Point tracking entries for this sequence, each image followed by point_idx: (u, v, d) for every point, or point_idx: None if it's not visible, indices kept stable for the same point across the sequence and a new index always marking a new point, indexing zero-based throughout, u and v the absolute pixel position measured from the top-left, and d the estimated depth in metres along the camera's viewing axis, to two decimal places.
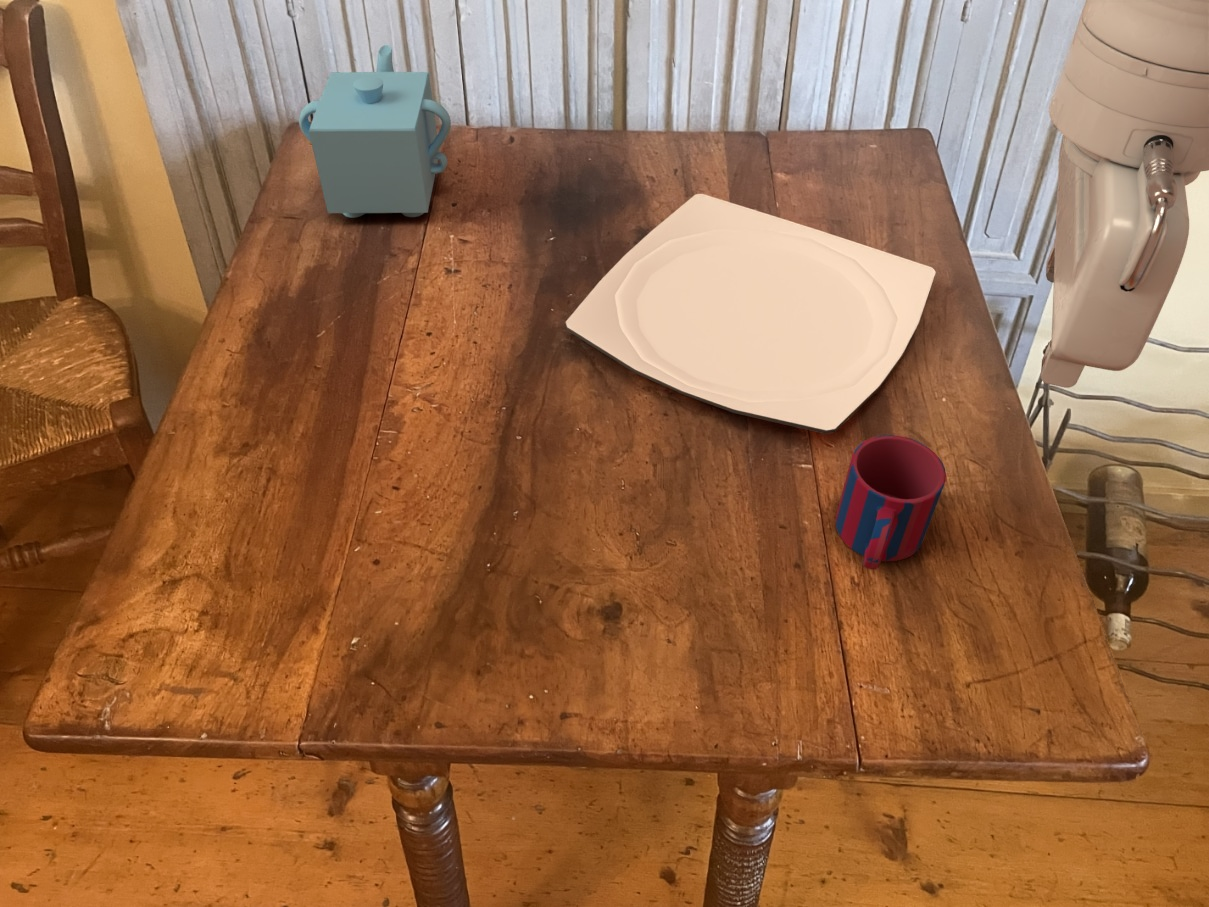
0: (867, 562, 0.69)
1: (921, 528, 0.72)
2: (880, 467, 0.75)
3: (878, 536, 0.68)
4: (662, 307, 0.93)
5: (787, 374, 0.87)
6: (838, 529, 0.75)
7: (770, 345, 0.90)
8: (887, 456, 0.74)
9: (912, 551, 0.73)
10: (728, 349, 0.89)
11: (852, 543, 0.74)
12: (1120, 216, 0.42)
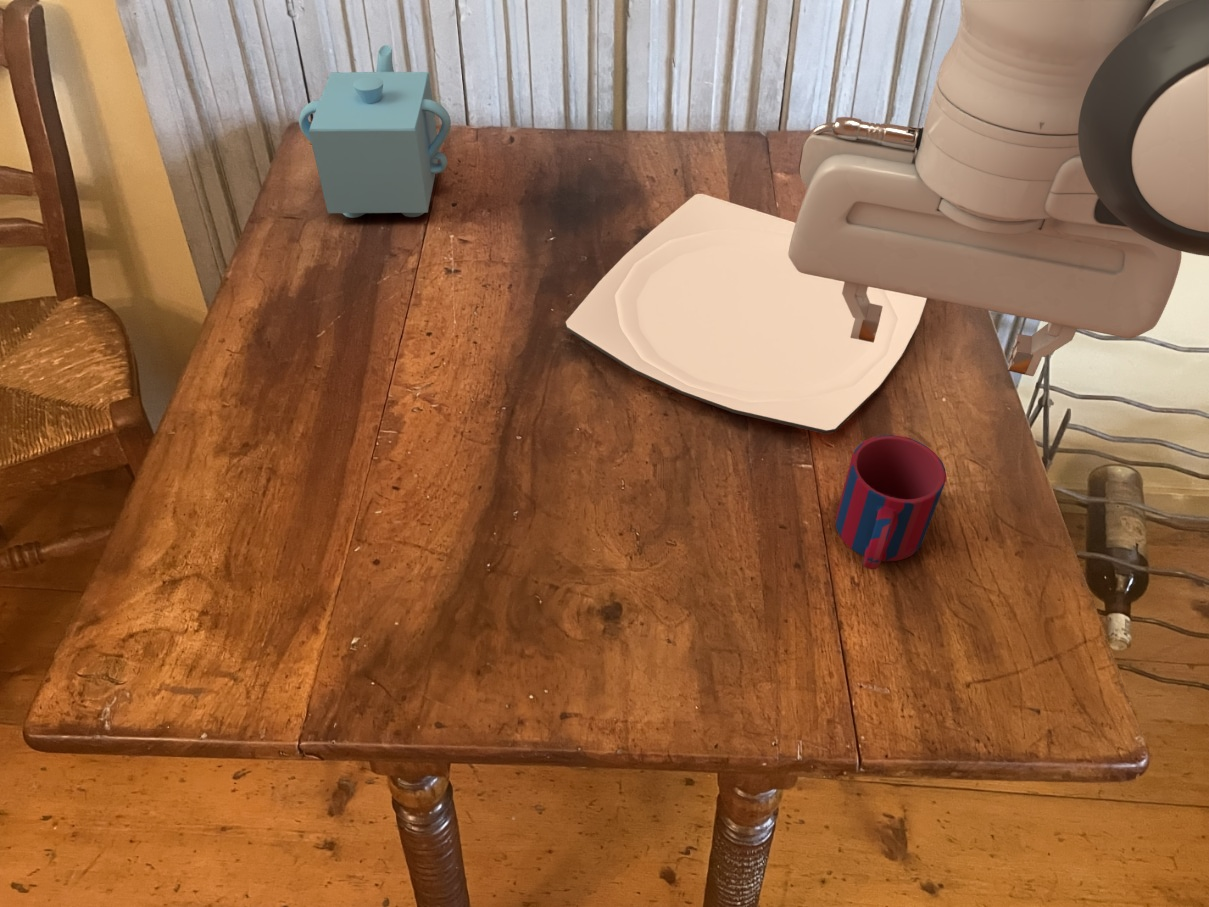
0: (867, 562, 0.69)
1: (921, 528, 0.72)
2: (880, 467, 0.75)
3: (878, 536, 0.68)
4: (662, 307, 0.93)
5: (787, 374, 0.87)
6: (838, 529, 0.75)
7: (770, 345, 0.90)
8: (887, 456, 0.74)
9: (912, 551, 0.73)
10: (728, 349, 0.89)
11: (852, 543, 0.74)
12: None
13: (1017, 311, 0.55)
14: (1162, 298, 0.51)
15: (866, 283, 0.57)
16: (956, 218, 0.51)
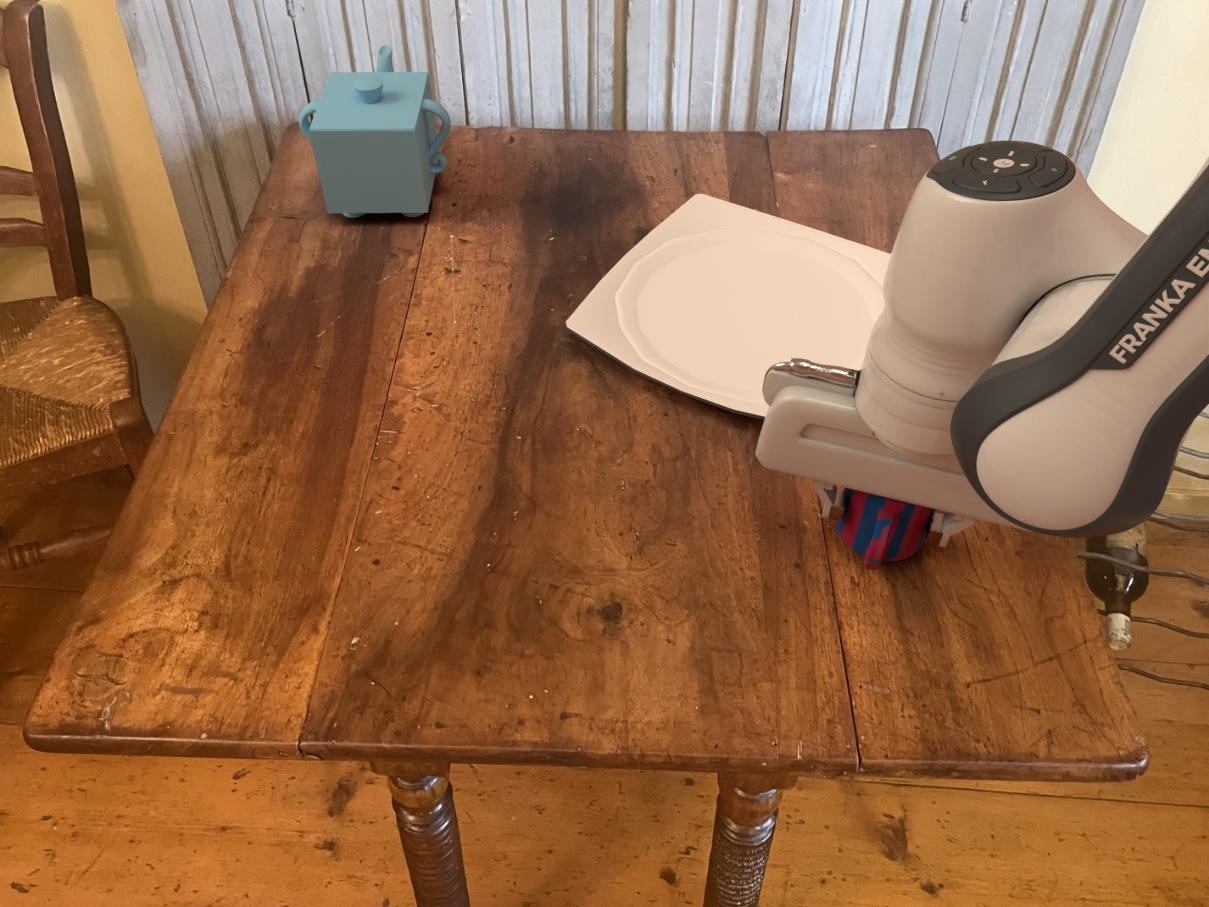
0: (867, 563, 0.69)
1: (921, 528, 0.72)
2: None
3: (879, 536, 0.68)
4: (662, 307, 0.93)
5: None
6: (838, 529, 0.75)
7: (770, 345, 0.90)
8: None
9: (912, 551, 0.73)
10: (728, 349, 0.89)
11: (852, 543, 0.74)
12: None
13: (941, 507, 0.67)
14: None
15: (819, 480, 0.69)
16: (887, 444, 0.63)
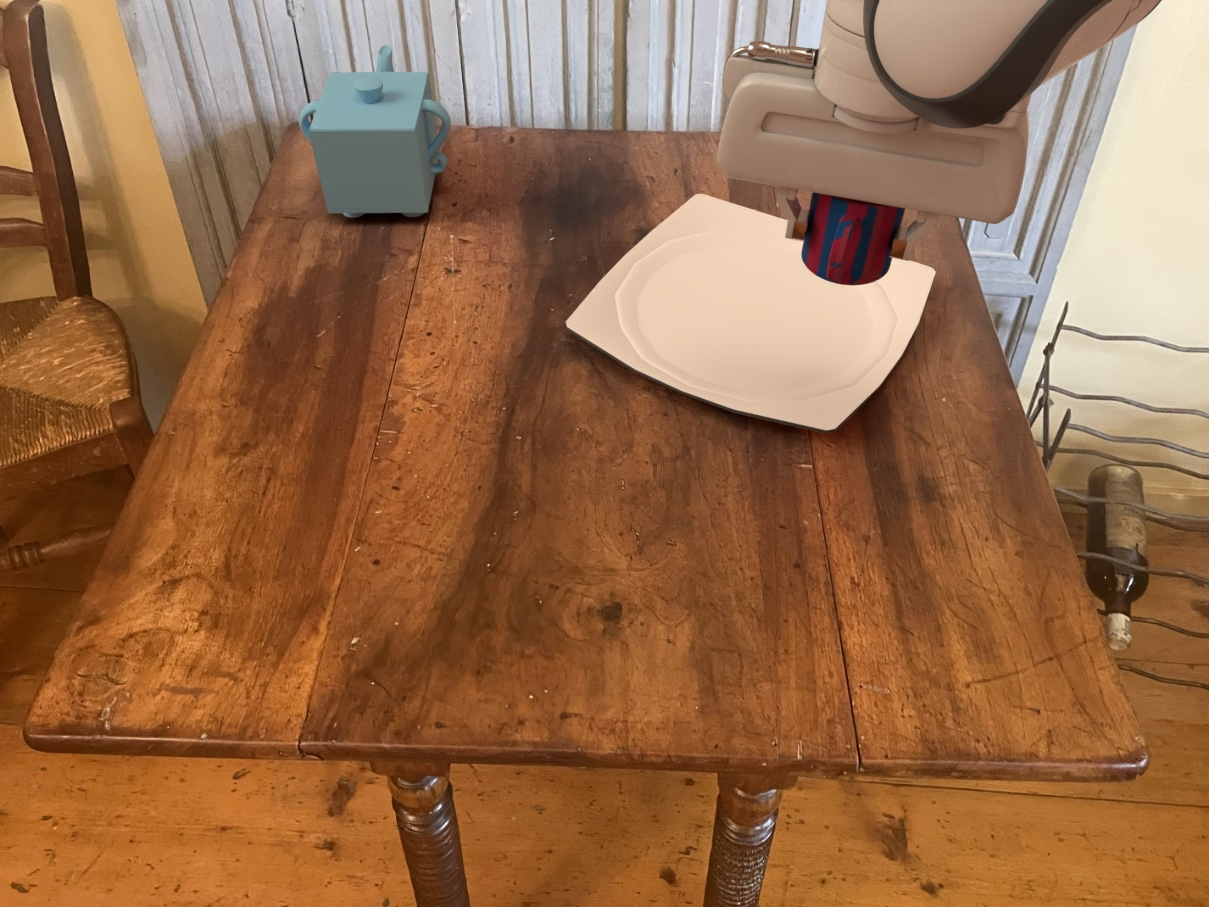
0: (830, 269, 0.69)
1: (886, 244, 0.71)
2: None
3: (840, 236, 0.67)
4: (662, 307, 0.93)
5: (787, 374, 0.87)
6: (803, 259, 0.74)
7: (770, 345, 0.90)
8: None
9: (877, 275, 0.73)
10: (728, 349, 0.89)
11: (817, 268, 0.73)
12: None
13: (903, 203, 0.66)
14: (1015, 186, 0.63)
15: (781, 184, 0.68)
16: (846, 121, 0.63)
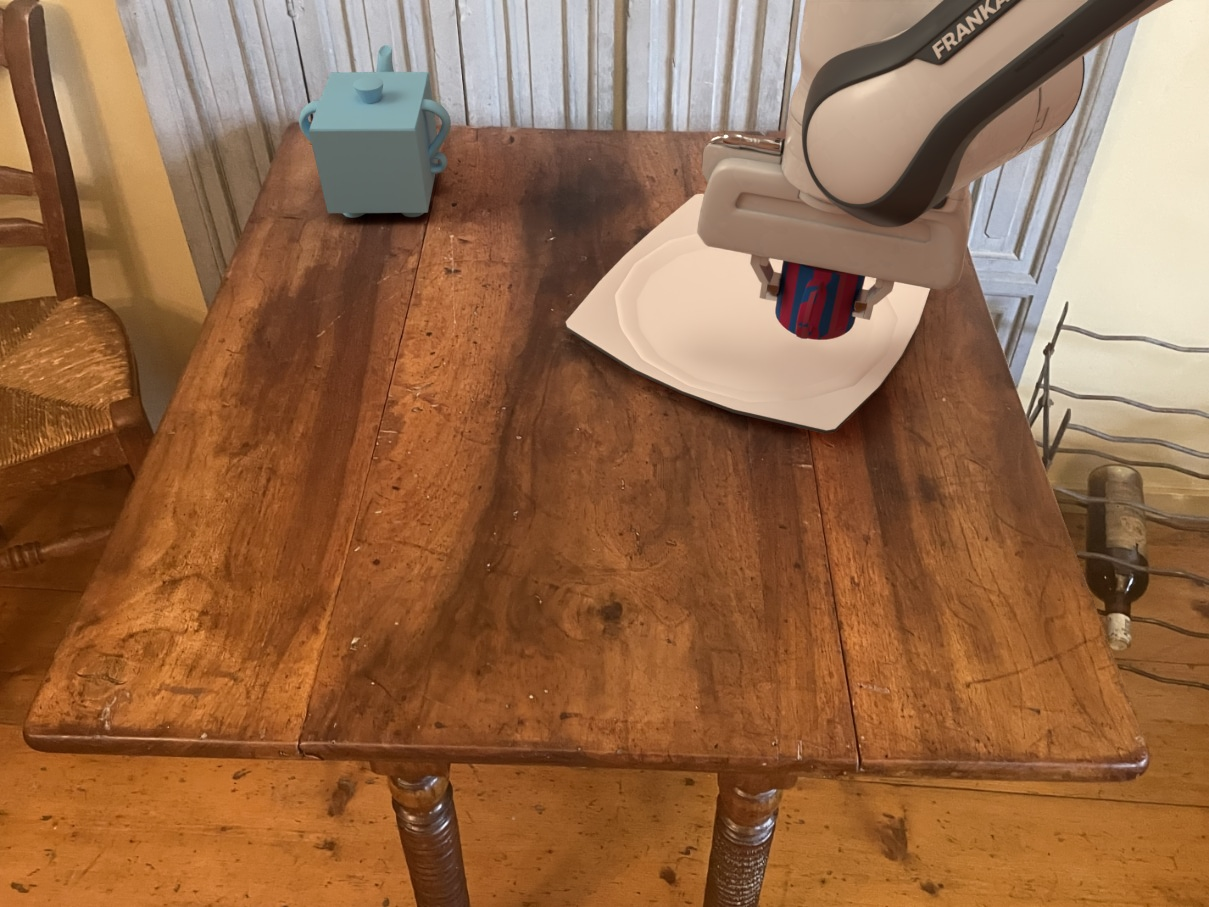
0: (798, 328, 0.77)
1: (849, 304, 0.79)
2: None
3: (807, 300, 0.75)
4: (662, 307, 0.93)
5: (787, 374, 0.87)
6: (777, 315, 0.83)
7: (770, 345, 0.90)
8: None
9: (842, 330, 0.81)
10: (728, 349, 0.89)
11: (788, 324, 0.82)
12: None
13: (862, 272, 0.75)
14: (959, 259, 0.71)
15: (754, 253, 0.77)
16: (810, 203, 0.71)
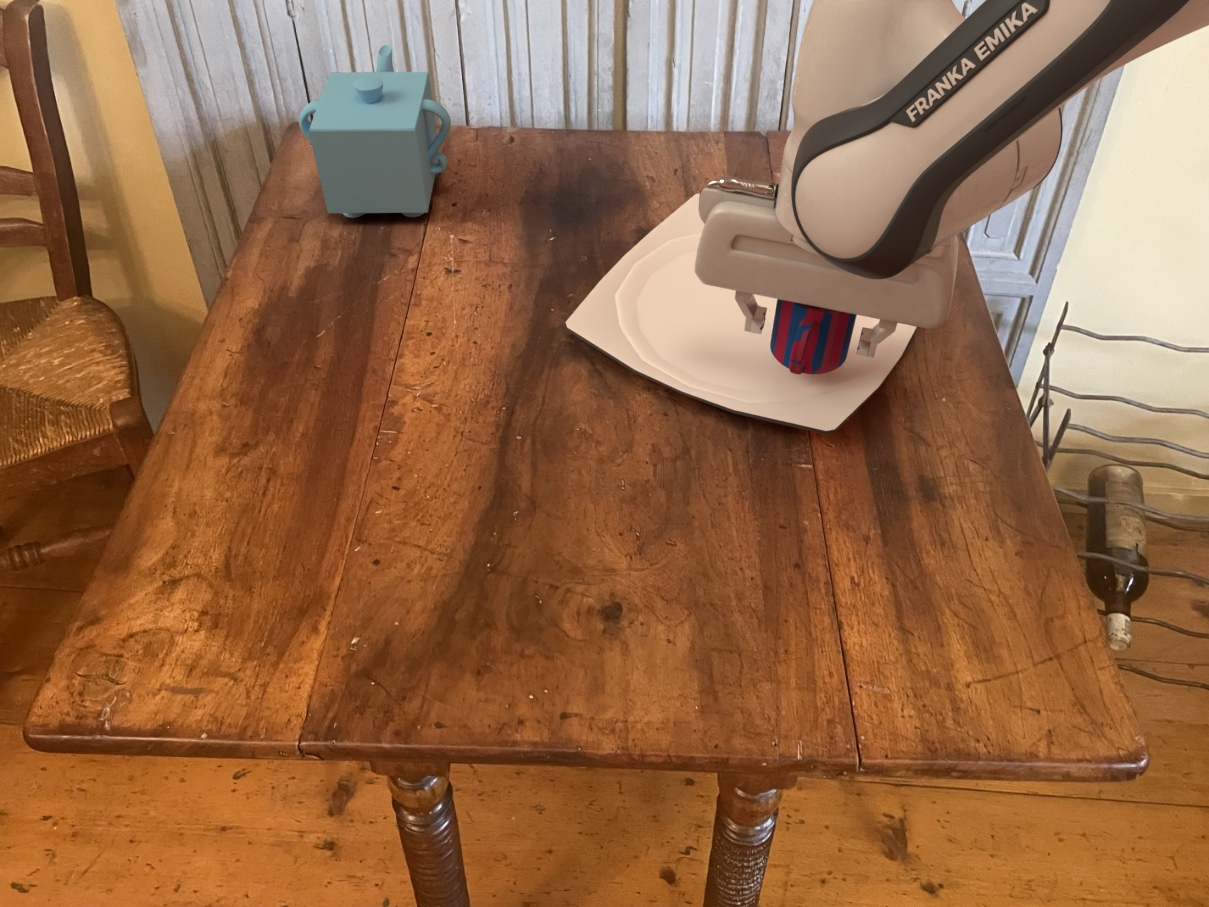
0: (791, 365, 0.80)
1: (841, 341, 0.82)
2: None
3: (800, 338, 0.78)
4: (662, 307, 0.93)
5: (787, 375, 0.87)
6: (772, 349, 0.86)
7: None
8: None
9: (835, 365, 0.84)
10: (727, 349, 0.89)
11: (783, 359, 0.84)
12: None
13: (853, 310, 0.77)
14: (946, 301, 0.74)
15: (749, 291, 0.79)
16: (802, 246, 0.74)
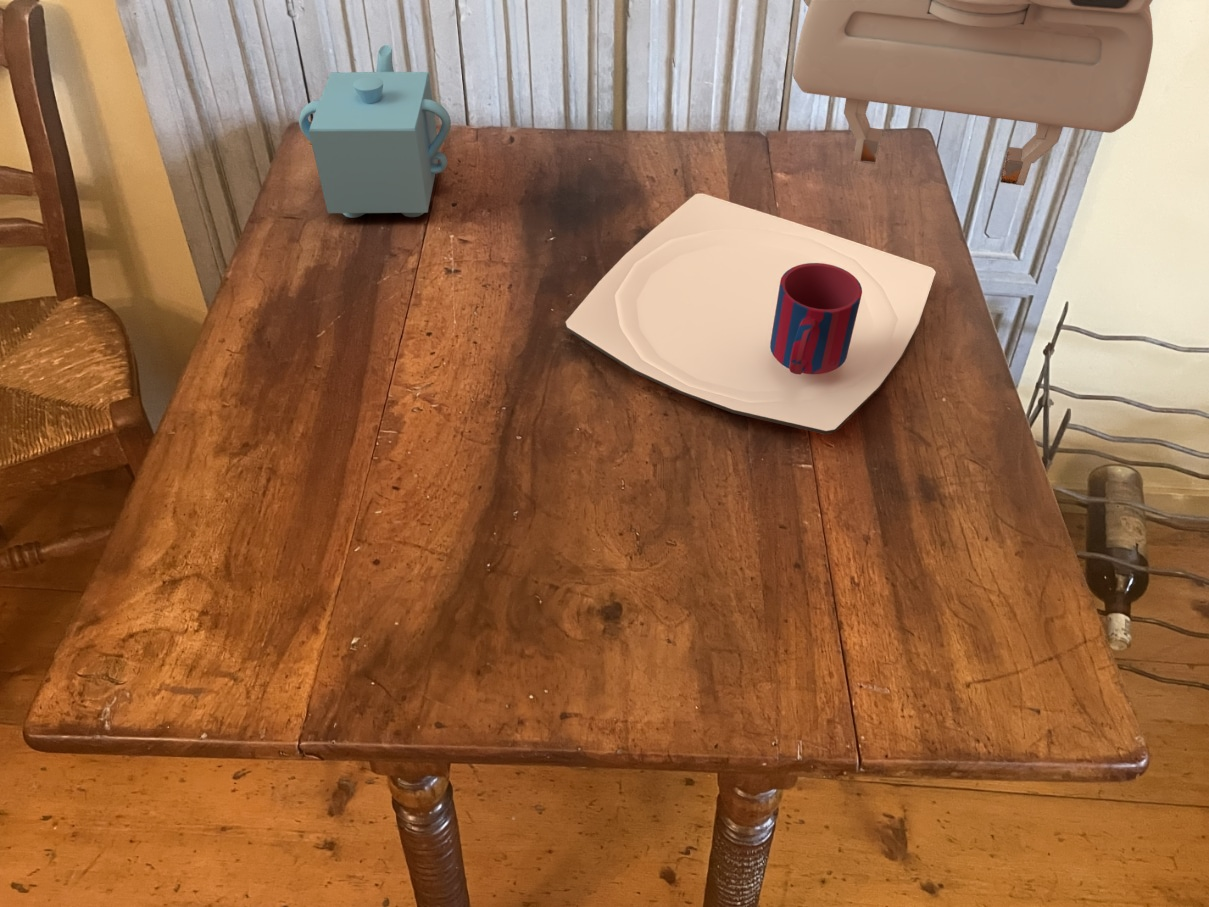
0: (791, 365, 0.80)
1: (841, 341, 0.82)
2: (809, 295, 0.86)
3: (800, 338, 0.78)
4: (662, 307, 0.93)
5: (787, 375, 0.87)
6: (772, 349, 0.86)
7: None
8: (814, 283, 0.85)
9: (835, 365, 0.84)
10: (727, 349, 0.89)
11: (783, 359, 0.84)
12: None
13: (1005, 113, 0.59)
14: (1138, 84, 0.56)
15: (865, 97, 0.61)
16: (945, 16, 0.56)
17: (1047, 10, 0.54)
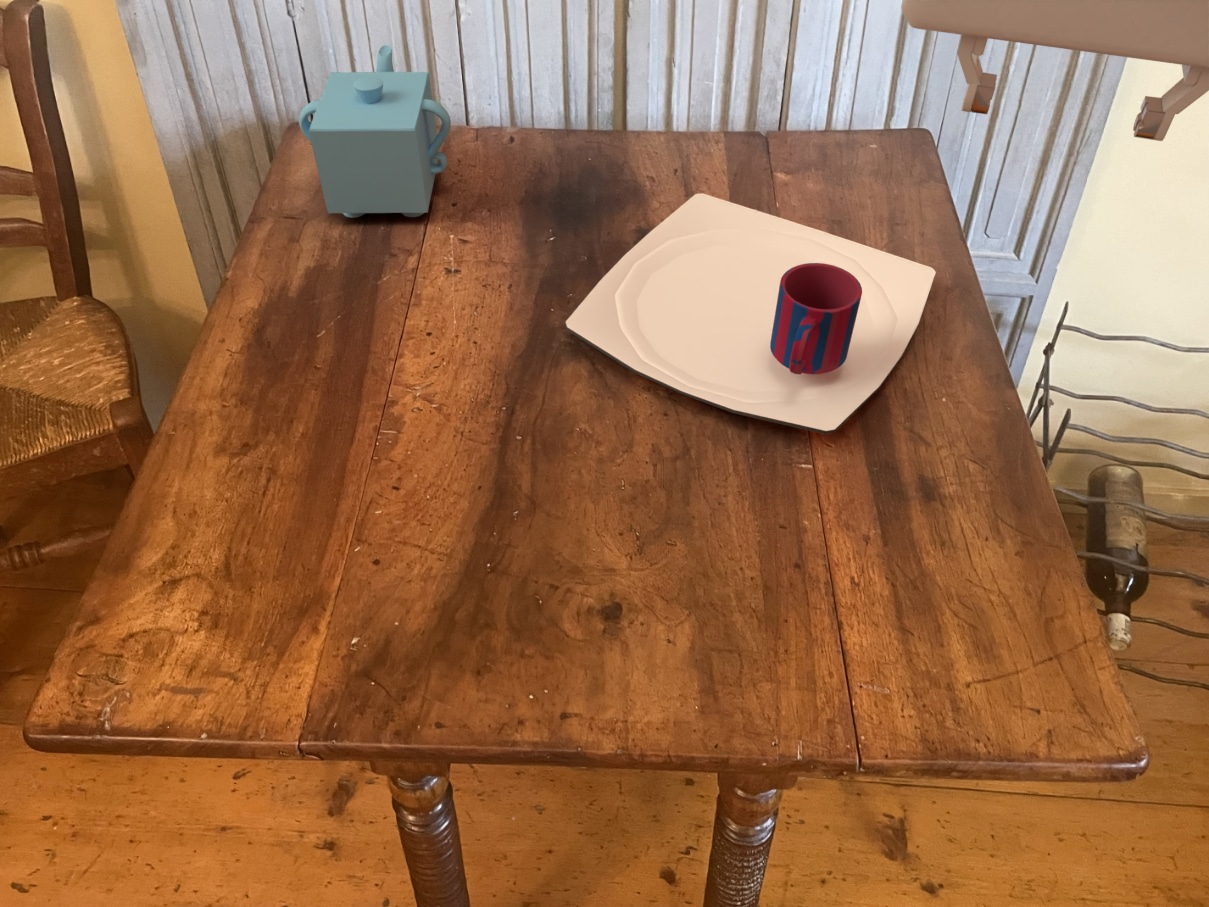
0: (791, 365, 0.80)
1: (841, 341, 0.82)
2: (809, 295, 0.86)
3: (800, 338, 0.78)
4: (662, 307, 0.93)
5: (787, 375, 0.87)
6: (772, 349, 0.86)
7: None
8: (814, 283, 0.85)
9: (835, 365, 0.84)
10: (727, 349, 0.89)
11: (783, 359, 0.84)
12: None
13: (1154, 53, 0.51)
14: None
15: (987, 33, 0.53)
16: None
17: None
